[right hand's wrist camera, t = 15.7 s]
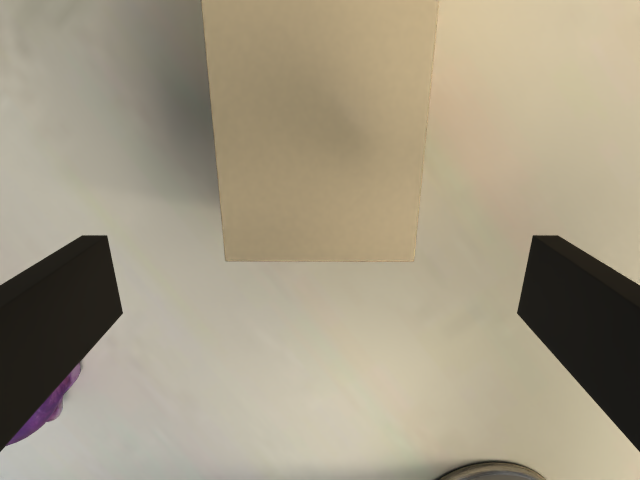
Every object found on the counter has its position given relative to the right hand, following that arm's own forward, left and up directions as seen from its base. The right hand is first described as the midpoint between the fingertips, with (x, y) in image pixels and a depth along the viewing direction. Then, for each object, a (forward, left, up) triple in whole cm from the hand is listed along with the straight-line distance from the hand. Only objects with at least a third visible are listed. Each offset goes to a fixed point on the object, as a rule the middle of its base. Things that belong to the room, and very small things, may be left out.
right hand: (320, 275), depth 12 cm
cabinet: (+2, -7, -18) cm, 20 cm away
